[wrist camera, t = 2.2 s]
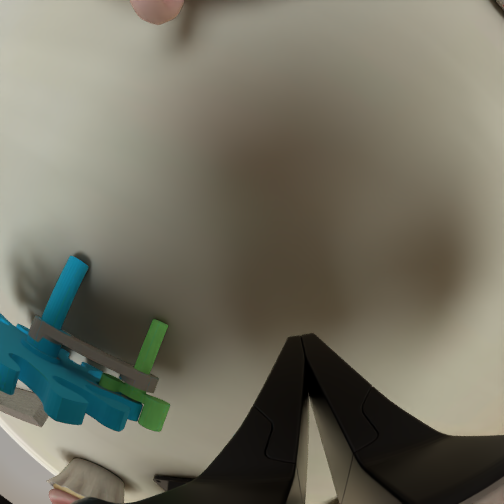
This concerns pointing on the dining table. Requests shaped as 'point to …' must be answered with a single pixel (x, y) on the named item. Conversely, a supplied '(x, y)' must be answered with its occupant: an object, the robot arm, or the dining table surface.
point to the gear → (79, 366)
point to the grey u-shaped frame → (23, 406)
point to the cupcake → (85, 483)
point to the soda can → (500, 3)
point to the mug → (157, 10)
